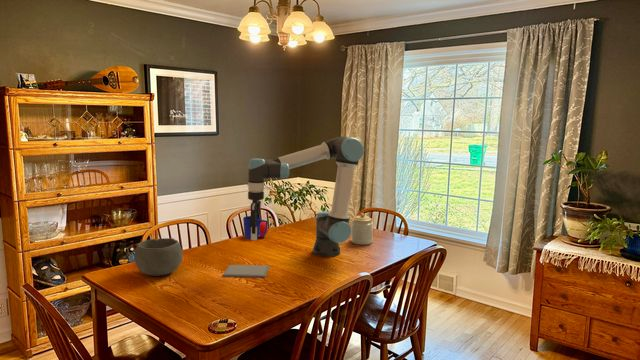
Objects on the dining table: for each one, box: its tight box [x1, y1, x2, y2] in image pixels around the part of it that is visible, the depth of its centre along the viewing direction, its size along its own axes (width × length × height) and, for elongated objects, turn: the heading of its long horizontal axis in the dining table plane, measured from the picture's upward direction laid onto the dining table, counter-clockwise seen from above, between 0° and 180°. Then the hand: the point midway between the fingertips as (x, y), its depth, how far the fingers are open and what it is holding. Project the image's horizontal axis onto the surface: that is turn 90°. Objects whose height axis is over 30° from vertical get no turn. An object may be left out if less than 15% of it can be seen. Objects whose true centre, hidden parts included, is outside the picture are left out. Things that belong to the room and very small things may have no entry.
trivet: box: [221, 264, 270, 278], centre depth 207 cm, size 20×14×1 cm
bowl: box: [134, 237, 183, 277], centre depth 203 cm, size 21×21×15 cm
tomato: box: [257, 222, 269, 239], centre depth 267 cm, size 11×12×10 cm
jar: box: [350, 212, 374, 246], centre depth 258 cm, size 13×13×18 cm
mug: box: [242, 215, 269, 240], centre depth 207 cm, size 8×12×10 cm
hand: (255, 237), depth 208 cm, fingers closed on mug, 7 cm apart
